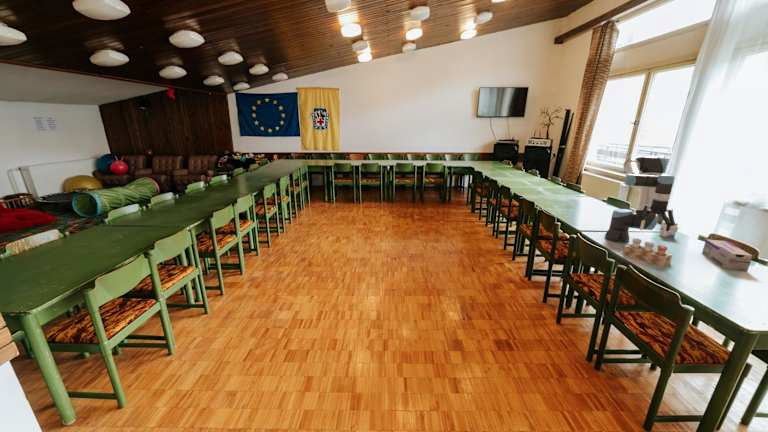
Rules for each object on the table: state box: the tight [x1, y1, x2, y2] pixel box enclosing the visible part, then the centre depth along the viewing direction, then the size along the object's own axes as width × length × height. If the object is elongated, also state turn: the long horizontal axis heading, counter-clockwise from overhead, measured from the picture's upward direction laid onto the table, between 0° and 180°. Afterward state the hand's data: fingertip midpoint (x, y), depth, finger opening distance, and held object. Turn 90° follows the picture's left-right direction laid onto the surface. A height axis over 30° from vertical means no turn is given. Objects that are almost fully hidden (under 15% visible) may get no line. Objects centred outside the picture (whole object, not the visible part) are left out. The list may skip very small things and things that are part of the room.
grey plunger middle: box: [644, 241, 655, 252], centre depth 204 cm, size 5×5×8 cm
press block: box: [622, 242, 673, 268], centre depth 205 cm, size 22×10×6 cm, turn 27°
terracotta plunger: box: [657, 245, 668, 256], centre depth 198 cm, size 5×5×8 cm
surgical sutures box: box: [701, 239, 754, 273], centre depth 198 cm, size 25×11×11 cm, turn 158°
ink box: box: [658, 220, 679, 239], centre depth 243 cm, size 9×5×12 cm, turn 58°
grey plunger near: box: [631, 238, 642, 249], centre depth 210 cm, size 5×5×8 cm
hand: (652, 232), depth 201 cm, fingers open, 12 cm apart
